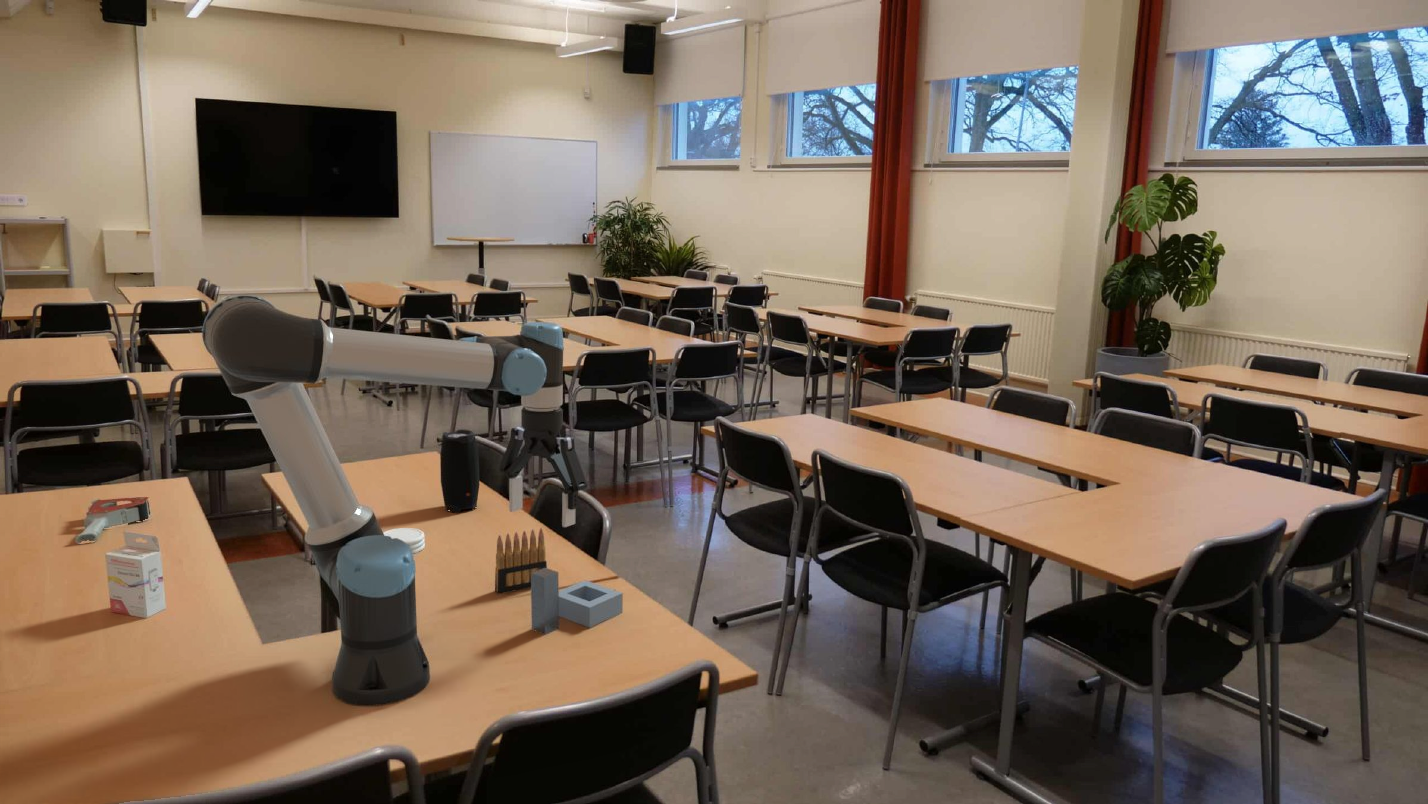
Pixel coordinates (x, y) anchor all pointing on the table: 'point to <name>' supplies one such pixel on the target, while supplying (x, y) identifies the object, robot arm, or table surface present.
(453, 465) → the portable speaker
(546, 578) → the steel pin
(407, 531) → the white ridged disc
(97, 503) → the tape dispenser
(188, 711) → the table surface
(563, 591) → the slot block
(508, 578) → the ammunition clip
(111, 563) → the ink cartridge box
